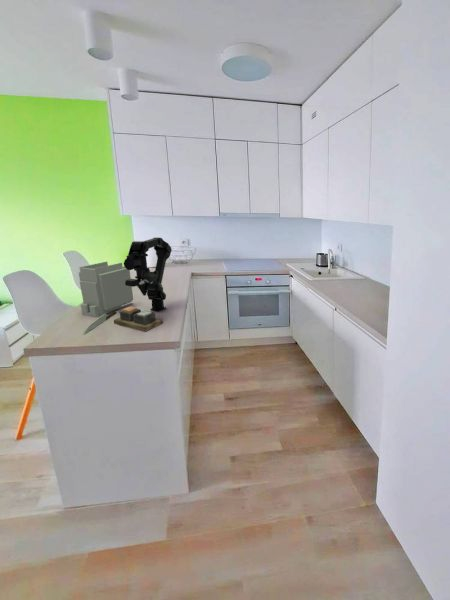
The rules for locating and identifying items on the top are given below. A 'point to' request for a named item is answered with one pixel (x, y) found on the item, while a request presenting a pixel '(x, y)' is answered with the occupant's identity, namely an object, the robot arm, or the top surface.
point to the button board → (138, 320)
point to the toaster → (104, 288)
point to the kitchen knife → (98, 321)
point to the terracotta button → (129, 309)
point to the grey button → (144, 313)
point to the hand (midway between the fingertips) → (144, 295)
